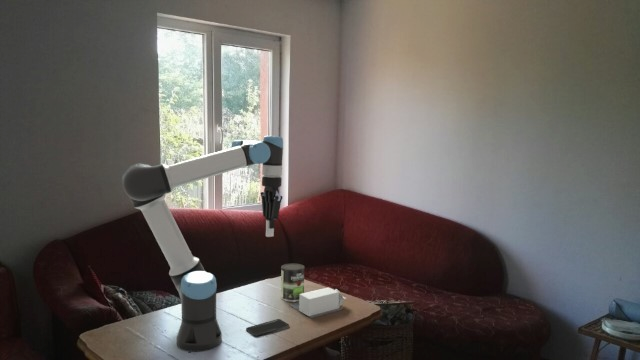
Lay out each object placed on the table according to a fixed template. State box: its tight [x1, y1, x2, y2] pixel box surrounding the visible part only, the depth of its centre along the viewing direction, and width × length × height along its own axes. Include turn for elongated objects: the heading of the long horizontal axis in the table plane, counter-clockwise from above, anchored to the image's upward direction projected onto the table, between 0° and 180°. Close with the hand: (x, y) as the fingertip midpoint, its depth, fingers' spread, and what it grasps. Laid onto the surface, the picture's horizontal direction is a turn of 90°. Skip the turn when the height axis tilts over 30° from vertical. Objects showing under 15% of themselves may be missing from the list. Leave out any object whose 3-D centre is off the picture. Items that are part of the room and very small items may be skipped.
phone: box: [245, 318, 290, 338], centre depth 176 cm, size 8×1×15 cm
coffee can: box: [280, 262, 306, 303], centre depth 207 cm, size 10×10×14 cm
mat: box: [289, 301, 344, 319], centre depth 197 cm, size 16×16×1 cm
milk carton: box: [298, 287, 347, 317], centre depth 194 cm, size 7×7×19 cm
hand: (269, 236), depth 184 cm, fingers closed
